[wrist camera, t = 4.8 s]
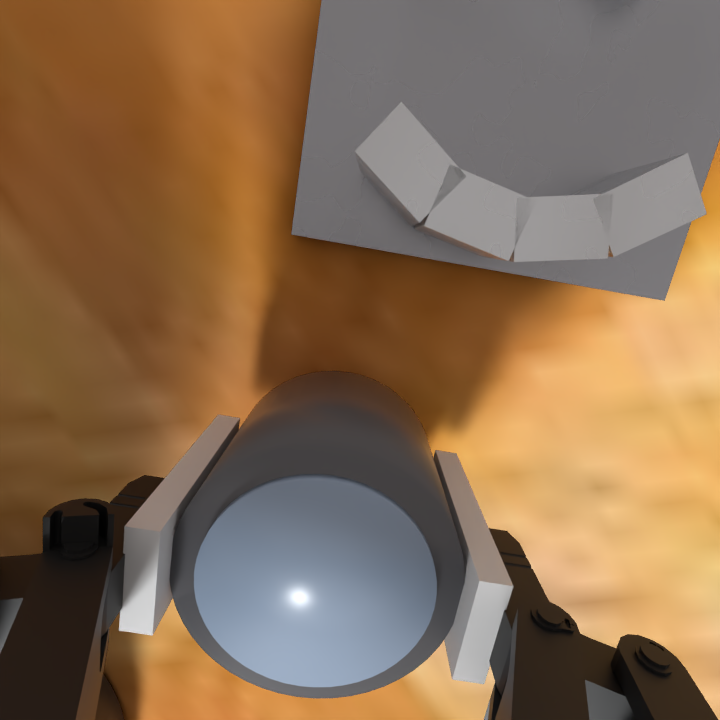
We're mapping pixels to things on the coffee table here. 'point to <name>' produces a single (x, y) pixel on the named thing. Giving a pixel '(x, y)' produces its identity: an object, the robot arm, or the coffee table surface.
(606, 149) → the grey square base
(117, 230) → the coffee table surface
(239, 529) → the grey cylinder
